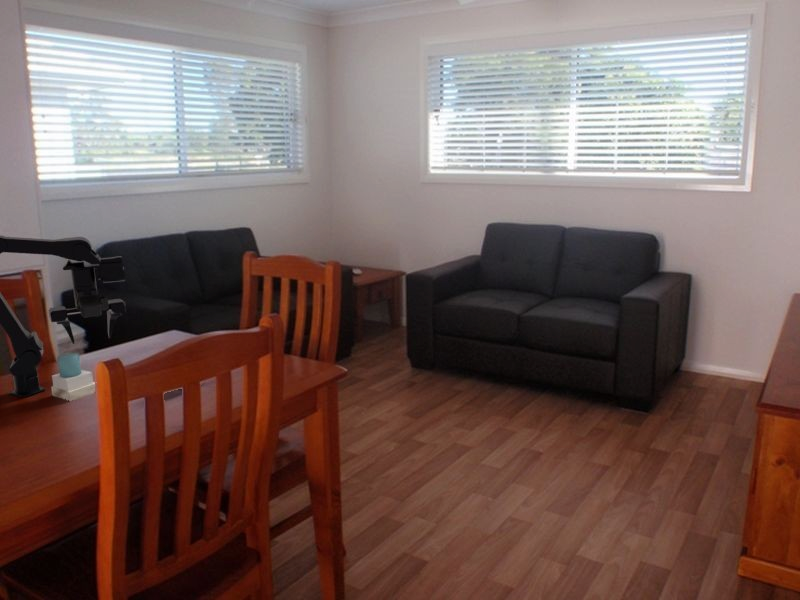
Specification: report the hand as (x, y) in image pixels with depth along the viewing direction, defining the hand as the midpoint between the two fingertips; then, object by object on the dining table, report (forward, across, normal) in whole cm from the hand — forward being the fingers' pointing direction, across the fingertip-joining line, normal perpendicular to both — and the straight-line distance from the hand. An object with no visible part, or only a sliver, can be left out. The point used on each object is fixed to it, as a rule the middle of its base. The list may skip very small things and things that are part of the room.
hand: (91, 340), depth 192 cm
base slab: (+13, -6, -6) cm, 15 cm away
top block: (+10, -6, -6) cm, 13 cm away
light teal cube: (+7, -7, -6) cm, 11 cm away
